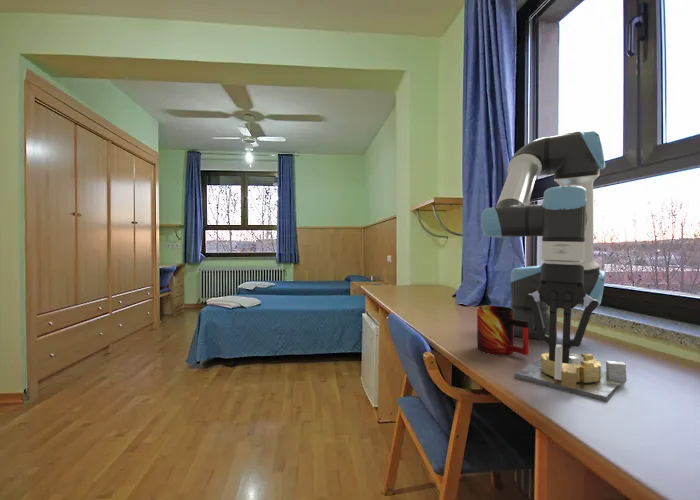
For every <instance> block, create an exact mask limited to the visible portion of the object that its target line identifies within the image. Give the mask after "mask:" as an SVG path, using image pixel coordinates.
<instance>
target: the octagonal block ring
mask: <svg viewBox="0 0 700 500" xmlns="http://www.w3.org/2000/svg"><path fill="white" fill-rule="evenodd" d="M569 353H570V354H573V353H572V352H569ZM575 354H576V355H579V356H582V357H583V361H581V365H575V364H566V363H563V366H562V371H561V386H562V387H568V388H573V389H576V382H580V381H582V382H584V383H586V382H597V381H599V380H601V370H602V369H601V368H602V365H601V361H599V360H598V359H596V358H594V355H593V354H591V353H585V352H584V353H581V354H578V353H575ZM540 359H541V371H543V372H544V373H546V374H548V375H550V376H553V377H554V375H555V361H550V360H549V352H544V353H542V354H541V356H540Z"/></svg>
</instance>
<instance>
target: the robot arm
mask: <svg viewBox="0 0 700 500" xmlns="http://www.w3.org/2000/svg"><path fill="white" fill-rule="evenodd" d="M601 136H602V135H601V133H600V132H599V131H598V130H596V129H591V130H589V129H588V130H579V131H575V132H569V133H563V134H557V135H553V136H546V137H545V136H543V137H540V138H537V139H535V140H532V141H530V142H528V143H527V144H525V145H523V146H522V147H521V148H520V149H519V150H517V151H516V152H515V153H514V155H512V157H511V158H510V159H509V162H508V165H507V174H508V175H507V177H506V180H505V182H504V184H503V187H502V190H501V193H500V195H499V198H498V200H497V203H496V206H492V207H486V208H484V209H483V211H482V213H481V216H480V226H481V231H482V233H483V235H484V236H485V237H487V238H499V239H501V238H513V237H516V238H518V237H519V238H521V237H541V255H540V256H541V257H540V258H541V260H542V261H544V262H543V263H542V264H540V265H531V266H523V267H516V268H513V269H512V270H511V273H510V281H509V282H510V308H512V309H514V319H517V320H523V321H528V339H534V340H535V339H536V340H537V339H538V340H540V341H541V342H544V343H546V344H547V345H548V353H549V360H550V361H555V375H554V379H557V380H561V371H562V366H563V363H566V364H568V362H569V353H571V352H570V348H572V347H573V348H574V347H577V348H578V347H580V346H581V344H582V341H583V337H584V335H585V332H586V329H587V327H588V323H589V322H590V317H591V315H592V313H593V312H594V311H595V310H596V309H597V308H598V307H599V306H600V305H601V303H602V299H603V294H604V289H605V280H606V279H605V278H606V271H605V270H601V269H600V264H599V263H597V261H595V259H594V182H595V180H596V179H598V178H599V176H600V170H601V171H602V170H604V169H605V168H606V163H605V155H604V148H603V142H602V137H601ZM549 175H553V180H554V182H556V183H557V184H558V185H559V186H553V187H548V188H547V189H546V190H544V192H543V199H542V204H530V201H531V197H532V193H533V190H534V187H535V186H534V185H535V182H536V180H537V179H538V178H539V176H549ZM575 307H577V308H578V307H579V308H584V309H583V311H582V315H581V318H580V320H579V323H578V327H577V330H576V332H575V335H574V338H571V331H572V329H571V327H572V325H571V324H572V309H574V308H575ZM558 309H563V324H562V343H561V344H557V342H558V341H557V340H558ZM514 337H520V338H523V327H519V326H514Z"/></svg>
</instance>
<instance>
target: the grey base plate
mask: <svg viewBox="0 0 700 500" xmlns="http://www.w3.org/2000/svg"><path fill="white" fill-rule="evenodd" d="M570 353H571V352H569V362H568V364H575V365H581V361H583V357H582V356H581V355H580V354H579V355H580V356H579V355H576V354H577V353H572V354H570ZM514 378H516V379H519V380H522V381H526V382H529V383H533V384H537V385H541V386H544V387H549V388H553V389H556V390H559V391H563V392H567V393H570V394H574V395H578V396H581V397H586V398H588V399H593V400H597V401H601V402H604V403H607V402H609V400H610V399H611V398H612V396H614V394H615V393H616V392H617V391H619V389H620V388H621V387H622V385H624V384H625V382H627V364H626V363H625V362H623V361H611V360H605V370H604V369H601V380H599V381H597V382H586V383H584V382H582V381H580V382H576V389H573V388H568V387H562V386H561V380H557V379H554V377H553V376H550V375H548V374H546V373H544V372H543V371H541V358H540V359H538V360H537V361H535V362H533V363H531V364H529V365H527V366H525V367H524V368H522V369H520V370H518V371H517V372H515V373H514Z"/></svg>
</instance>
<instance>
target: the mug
mask: <svg viewBox="0 0 700 500" xmlns="http://www.w3.org/2000/svg"><path fill="white" fill-rule="evenodd" d="M476 309H477V310H476V313H477V315H476V316H477V317H476V319H477V322H476V328H477V329H476V331H477V333H476V334H477V337H476V338H477V339H476V340H477V342H476V344H477V345H476V348H477V350H478V351H479V350H480V351H479V352H481V351H482V352H481V353H483V352H485V353H484V354H487V353H489V354H488V355H492V354H494V356H510V355H513V354H514V353H517V354H521V355H525V356H529V353H530V352H529V351H530V350H529V349H530V348H529V347H530V344H529V343H530V341H529V338H528V321H523V320H517V319H514V309H512V308H511V307H508V306H507V307H506V306H501V305H480V306H477V308H476ZM514 326H519V327H523V337H522V347H521V346H518V345H515V344H514V339H515V338H514V337H515V336H514Z"/></svg>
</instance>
